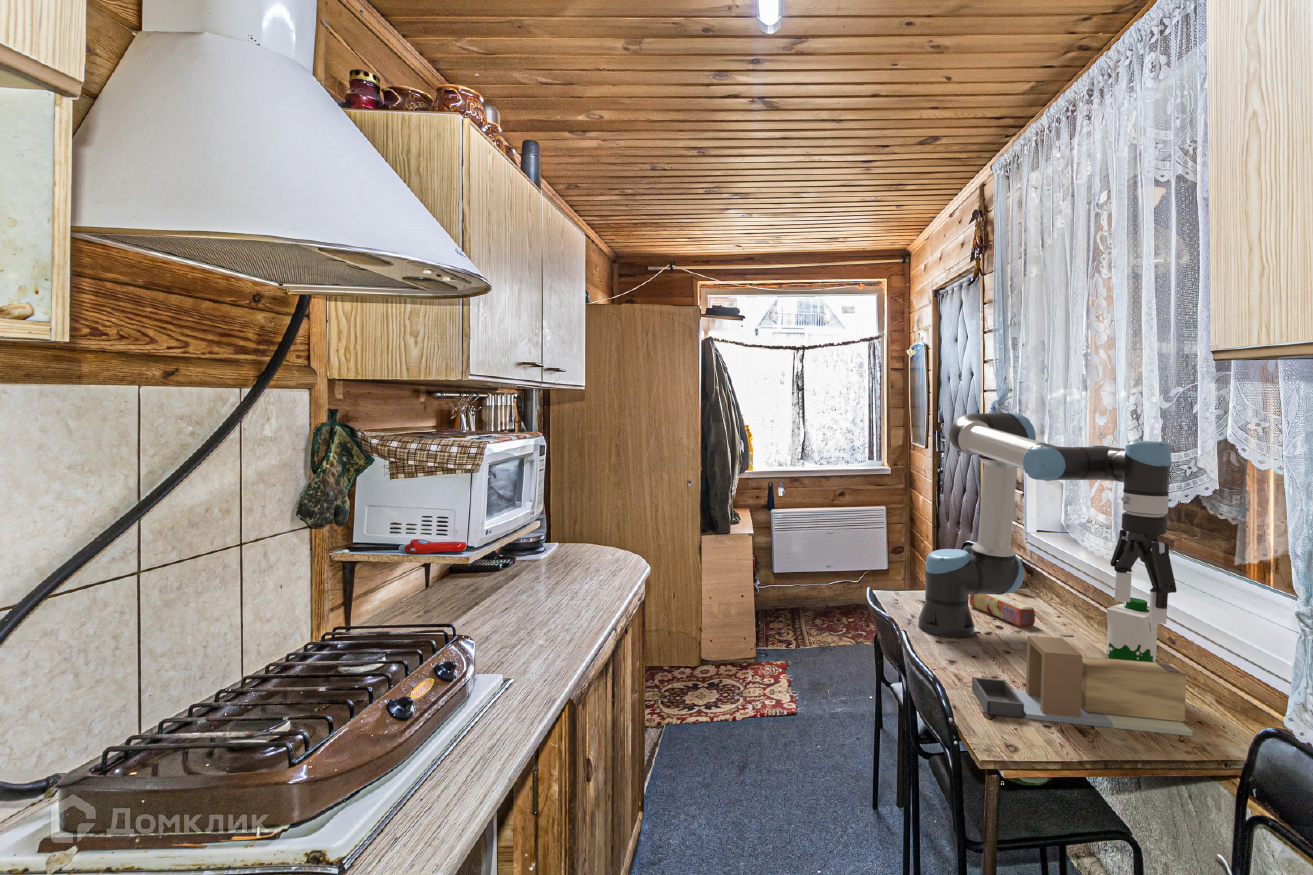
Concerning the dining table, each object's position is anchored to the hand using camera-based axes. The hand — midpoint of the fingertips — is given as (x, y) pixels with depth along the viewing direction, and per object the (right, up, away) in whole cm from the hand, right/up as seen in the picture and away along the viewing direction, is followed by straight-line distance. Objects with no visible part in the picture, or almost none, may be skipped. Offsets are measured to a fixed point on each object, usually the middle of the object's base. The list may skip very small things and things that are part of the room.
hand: (1138, 611), depth 131 cm
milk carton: (+9, -22, +15) cm, 28 cm away
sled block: (-3, -21, -1) cm, 21 cm away
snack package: (+6, -20, +64) cm, 67 cm away
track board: (-9, -22, 0) cm, 24 cm away
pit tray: (-28, -22, +5) cm, 36 cm away
